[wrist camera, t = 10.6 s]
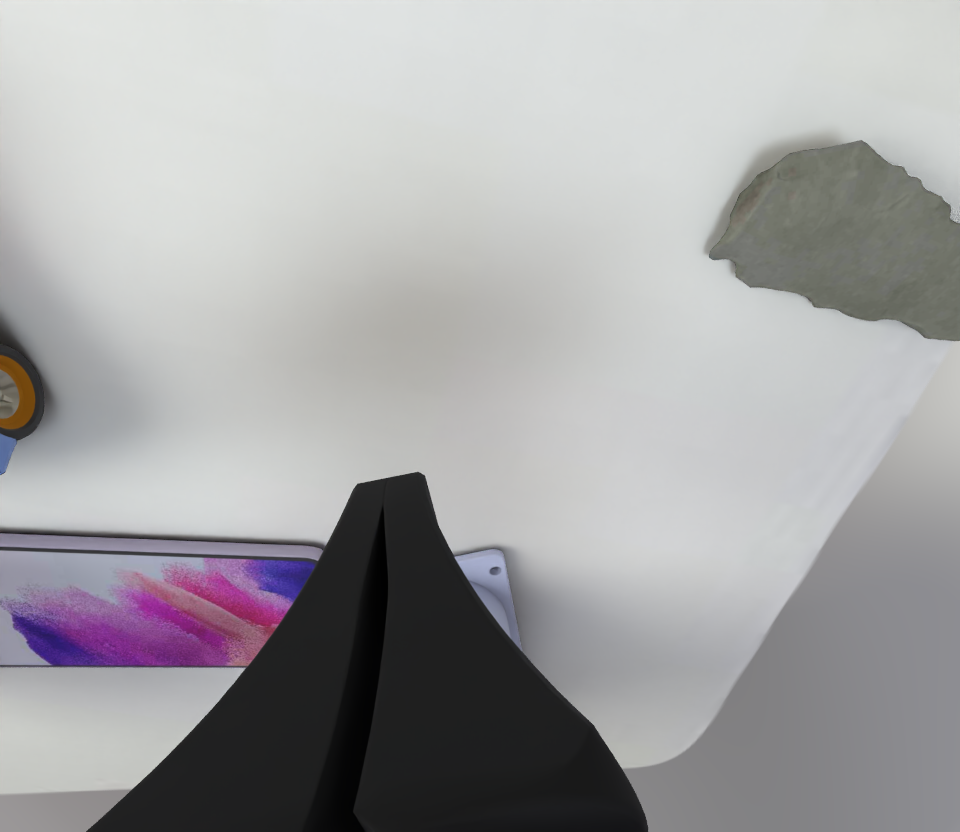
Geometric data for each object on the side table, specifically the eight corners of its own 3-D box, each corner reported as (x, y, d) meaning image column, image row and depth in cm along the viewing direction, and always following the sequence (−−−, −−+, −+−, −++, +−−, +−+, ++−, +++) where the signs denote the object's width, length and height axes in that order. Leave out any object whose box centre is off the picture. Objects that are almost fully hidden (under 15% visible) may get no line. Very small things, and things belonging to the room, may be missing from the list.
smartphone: (-108, 540, 21) (328, 556, 24) (-91, 523, 22) (330, 541, 25) (-52, 670, 25) (321, 671, 28) (-39, 652, 26) (323, 654, 28)
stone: (802, 93, 17) (685, 236, 20) (829, 115, 16) (699, 265, 19) (1067, 282, 21) (934, 379, 24) (1109, 314, 19) (962, 413, 23)
